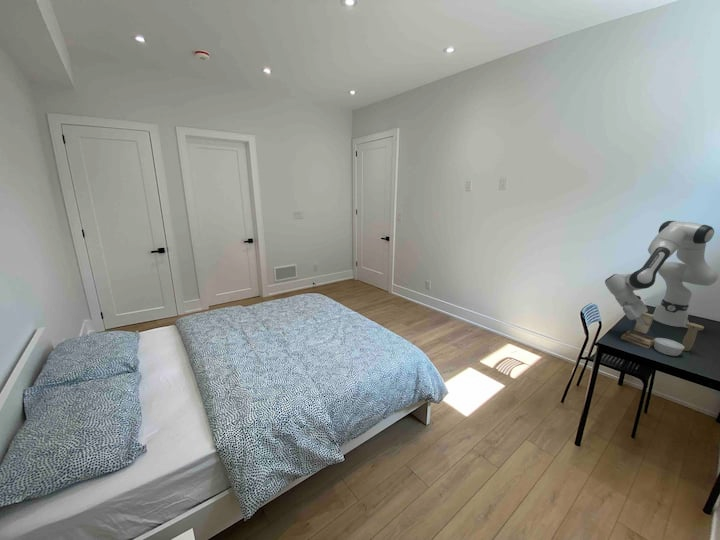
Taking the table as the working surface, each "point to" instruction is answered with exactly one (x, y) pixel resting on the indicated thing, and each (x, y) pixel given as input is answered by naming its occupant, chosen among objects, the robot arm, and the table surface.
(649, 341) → the wooden tray
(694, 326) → the handle
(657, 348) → the ramekin
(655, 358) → the table surface
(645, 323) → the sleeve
